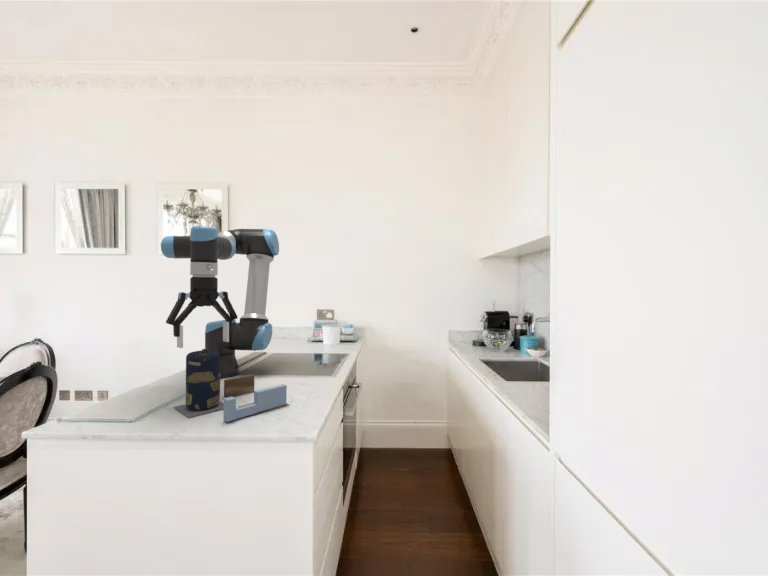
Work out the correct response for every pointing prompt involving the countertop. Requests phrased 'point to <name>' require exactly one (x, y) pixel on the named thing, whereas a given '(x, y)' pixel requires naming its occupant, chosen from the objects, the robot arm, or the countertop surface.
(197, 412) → the mat
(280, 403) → the tie jaw
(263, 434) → the countertop surface
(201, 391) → the canister
